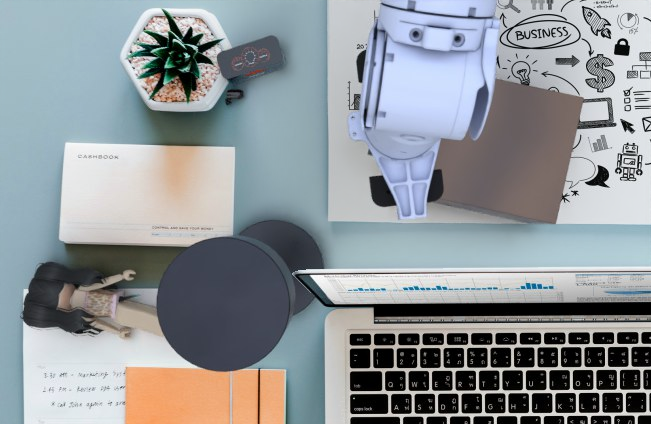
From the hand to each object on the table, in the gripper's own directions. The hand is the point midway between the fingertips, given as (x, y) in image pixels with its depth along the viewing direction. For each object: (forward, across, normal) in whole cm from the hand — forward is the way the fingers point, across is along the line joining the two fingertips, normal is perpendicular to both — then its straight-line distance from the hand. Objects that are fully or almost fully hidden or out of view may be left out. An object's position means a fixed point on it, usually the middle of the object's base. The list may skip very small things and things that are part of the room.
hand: (393, 136), depth 56 cm
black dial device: (+10, -9, -13) cm, 19 cm away
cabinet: (+10, +2, +10) cm, 14 cm away
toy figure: (+10, +12, -30) cm, 34 cm away
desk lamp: (+9, +11, -13) cm, 19 cm away
